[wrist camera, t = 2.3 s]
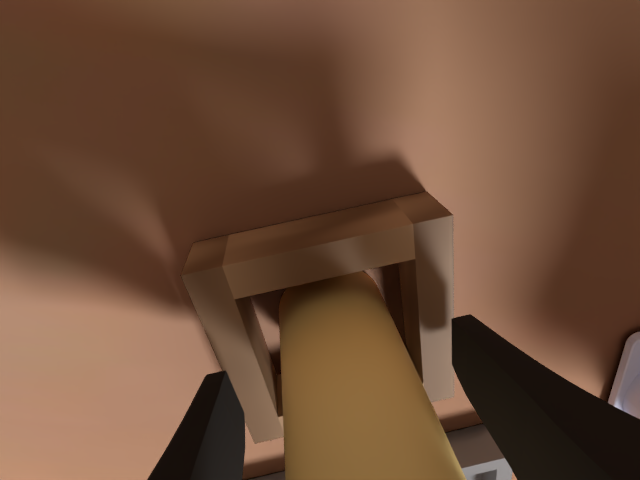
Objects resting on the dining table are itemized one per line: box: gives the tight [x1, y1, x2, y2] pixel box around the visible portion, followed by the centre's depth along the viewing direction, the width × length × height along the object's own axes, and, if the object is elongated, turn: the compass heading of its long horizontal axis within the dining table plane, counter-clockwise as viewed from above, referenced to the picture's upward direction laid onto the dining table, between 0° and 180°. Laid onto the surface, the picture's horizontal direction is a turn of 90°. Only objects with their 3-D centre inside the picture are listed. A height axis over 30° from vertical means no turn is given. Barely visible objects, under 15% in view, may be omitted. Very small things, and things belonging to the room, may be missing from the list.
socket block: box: [181, 192, 454, 444], centre depth 13 cm, size 8×8×2 cm
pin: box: [279, 271, 466, 480], centre depth 11 cm, size 4×4×8 cm
